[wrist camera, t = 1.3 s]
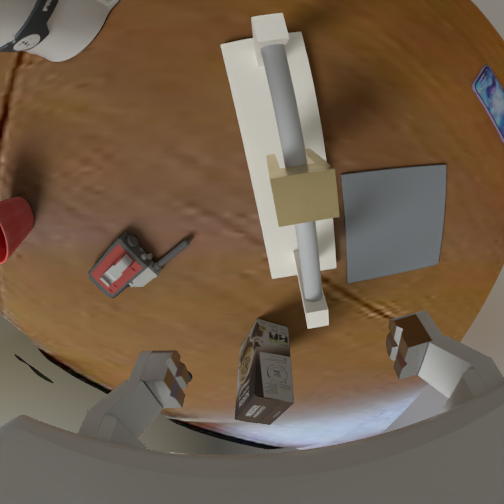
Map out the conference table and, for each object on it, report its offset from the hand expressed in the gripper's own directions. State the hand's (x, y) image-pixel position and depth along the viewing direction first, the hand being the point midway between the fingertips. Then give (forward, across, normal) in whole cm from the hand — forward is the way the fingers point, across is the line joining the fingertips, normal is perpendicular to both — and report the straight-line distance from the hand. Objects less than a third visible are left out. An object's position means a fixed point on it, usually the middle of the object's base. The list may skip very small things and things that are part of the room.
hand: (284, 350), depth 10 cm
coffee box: (+31, +5, +29) cm, 43 cm away
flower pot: (+30, +46, -5) cm, 55 cm away
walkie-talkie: (+31, +23, +8) cm, 39 cm away
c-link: (+24, -3, -2) cm, 25 cm away
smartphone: (+29, -43, -10) cm, 53 cm away
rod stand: (+30, -3, -2) cm, 30 cm away
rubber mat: (+30, -19, +10) cm, 37 cm away
